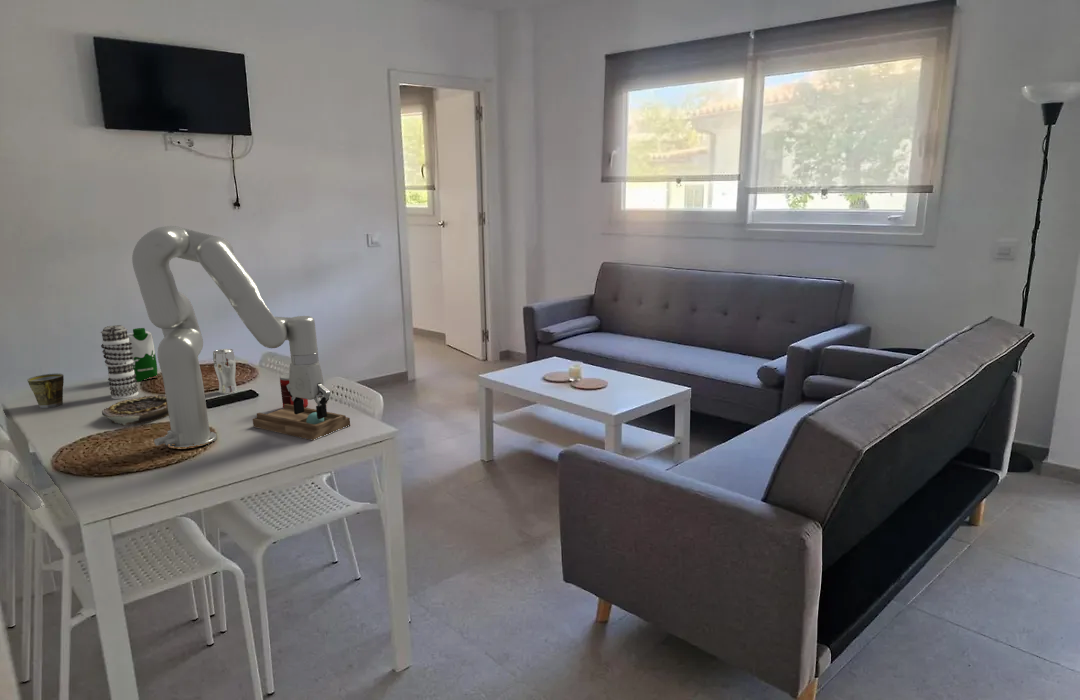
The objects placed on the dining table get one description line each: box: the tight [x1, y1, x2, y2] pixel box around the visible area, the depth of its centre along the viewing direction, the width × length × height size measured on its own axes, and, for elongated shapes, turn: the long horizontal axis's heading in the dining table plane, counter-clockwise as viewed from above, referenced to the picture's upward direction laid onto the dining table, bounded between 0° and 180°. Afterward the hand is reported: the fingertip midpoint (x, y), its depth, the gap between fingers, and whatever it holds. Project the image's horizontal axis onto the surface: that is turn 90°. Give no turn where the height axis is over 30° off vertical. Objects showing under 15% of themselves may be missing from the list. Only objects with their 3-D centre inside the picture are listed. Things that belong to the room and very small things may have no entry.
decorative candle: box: [99, 324, 139, 400], centre depth 238 cm, size 9×9×25 cm
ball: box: [306, 412, 324, 425], centre depth 200 cm, size 5×5×5 cm
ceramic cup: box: [27, 372, 64, 409], centre depth 229 cm, size 13×10×10 cm
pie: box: [101, 394, 169, 426], centre depth 217 cm, size 28×27×5 cm
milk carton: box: [127, 327, 158, 383], centre depth 261 cm, size 9×9×20 cm
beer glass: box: [212, 348, 238, 395], centre depth 240 cm, size 7×7×15 cm
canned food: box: [279, 372, 309, 409], centre depth 220 cm, size 8×8×11 cm
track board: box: [252, 404, 351, 441], centre depth 202 cm, size 14×26×4 cm, turn 59°
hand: (310, 415), depth 200 cm, fingers open, 9 cm apart
